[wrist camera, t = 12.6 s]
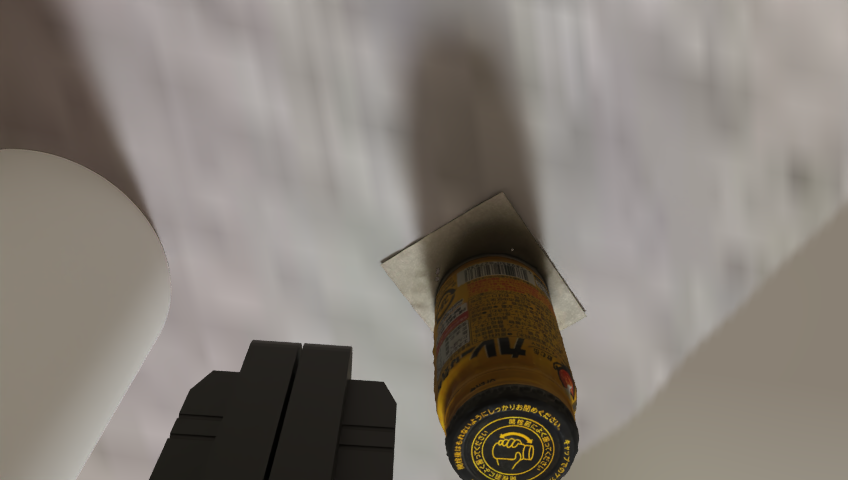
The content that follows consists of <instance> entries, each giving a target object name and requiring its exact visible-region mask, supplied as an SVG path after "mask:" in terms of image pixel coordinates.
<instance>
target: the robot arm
mask: <svg viewBox="0 0 848 480" xmlns="http://www.w3.org/2000/svg"><path fill="white" fill-rule="evenodd" d="M351 371H352V347H351V346H336V345H322V344H307V343H305V344H304V346H303V349H302V345H301V343H291V342H276V341H262V340H252V342H251V344H250V346H249V349H248V352H247V354H246V357H245V360H244V362H243V365H242V368H241V370H240V372H228V371H214V370H213V371H212V372H211V373H210V374H209V375H207V376H206V377H205V378H204V379H202V380H201V381H200V382H199V383H198V384H196V385H195V386H194V387H193V388H192V389H190V391H189V393H188V395H187V397H186V400H185V402H184V404H183V406H182V408H181V411H180V413H179V418H177V419H176V422H175V424H174V426H173V428H172V430H171V433H170V438H168V439H167V441H166V443H165V446H164V448H163V450H162V452H161V454H160V457H159V459H158V461H157V463H156V465H155V468H154V470H153V472H152V474H151V476H150V479H149V480H393V463H394V444H395V425H396V406H397V403H396V402H395V400H394V398H393V397H392V395H391V393H390V392H389V390H388V388H387V387H386V385H385V383H384V382H378V381H363V380H351Z"/></svg>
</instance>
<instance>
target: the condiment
mask: <svg viewBox="0 0 848 480" xmlns="http://www.w3.org/2000/svg"><path fill="white" fill-rule="evenodd" d="M511 249H514V251H511ZM381 266H382V267H383V269H384V270H385V271H386V273H387V274H388V276H389V277H390V278H391V279H392V281H393V282H394V283H395V284H396V285H397V287H398V288H399V290H400V291H401V293H402V294H403V295H404V296H405V297H406V298H407V300H408V301H409V302H410V304H411V305H412V307H413V308H414V309H415V311H417V313H418V314H419V315H420V317H421V318H422V319H423V320H424V322H425V323H426V324H427V325H428V326H429V328H430V329H431V330H432V332H433V333H434V348H433V355H434V362H433V363H434V367H435V371H434V375H435V377H434V393H435V401H436V411H437V414H438V418H439V421H440V424H441V426H442V428H443V430H444V432H445V435H446V438H445V445H446V451H447V456H448V457H449V461H450V463H451V465H452V467H453V469H454V470H455V471H456V473H457V474H458V475H459V477H460V478H461V479H462V480H560V479H561V478H562V477H563V476H564V475H566V473H567V472H568V471H569V469H570V467H571V465H572V463H573V461H574V458H575V456H576V454H577V452H578V442H579V433H578V428H577V426H576V422H575V411H576V405H577V388H576V386H575V382H574V380H573V376H572V371H571V369H570V366H569V362H568V358H567V355H566V351H565V348H564V344H563V339H562V337H561V333H560V331H561V330H563V329H565V328H566V327H568V326H570V325H572V324H574V323H576V322H578V321H579V320H581V319H583V318H584V317H586V314H585V313H584V311H583V310H582V308H581V307H580V305H579V304H578V302H577V301H576V299H575V298H574V296H573V295H572V293H571V292H570V290H569V289H568V287H567V286H566V285H565V283H564V282H563V280H562V278H561V277H560V276H559V274H558V272H557V271H556V270H555V268H554V267H553V265H552V264H551V262H550V261H549V259H548V258H547V257H546V255H545V253H544V252H543V251H542V249H541V248H540V246H539V245H538V244H537V242H536V241H535V239H534V237H533V236H532V234H531V233H530V231H529V230H528V228H527V227H526V225H525V224H524V222H523V221H522V220H521V218H520V217H519V215H518V214H517V212H516V211H515V210H514V208H513V207H512V205H511V204H510V202H509V201H508V199H507V198H506V196H505V195H504V193H503V192H501V193H499V194H497V195H496V196H494V197H492V198H491V199H489V200H487V201H485V202H483V203H481V204H480V205H478V206H476V207H474V208H473V209H471V210H469V211H468V212H466V213H465V214H463V215H461V216H459V217H457V218H456V219H454V220H452V221H451V222H449V223H448V224H446V225H444V226H443V227H441V228H439V229H438V230H436V231H435V232H432V233H431V234H428V235H427V236H426V237H425V238H423V239H422V240H420V241H419V242H417V243H415V244H414V245H412V246H410V247H408V248H407V249H405V250H403V251H402V252H400V253H399V254H397V255H396V256H394V257H393V258H391V259H389V260H388V261H386V262H384V263H383V264H381ZM438 268H439V274H438V275H437V274H436V269H438ZM436 277H439V280H438V281H436V280H435V279H436Z"/></svg>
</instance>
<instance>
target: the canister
mask: <svg viewBox="0 0 848 480" xmlns="http://www.w3.org/2000/svg"><path fill="white" fill-rule="evenodd" d="M170 301H171V278H170V271H169V266H168V262H167V258H166V255H165V252H164V250H163V247H162V245H161V243H160V240H159V238H158V236H157V234H156V233H155V231H154V229H153V227H152V226H151V224H150V223H149V221H148V220H147V218H146V217H145V216H144V214H143V213H142V212H141V211H140V209H139V208H138V207H137V206H136V205H135V204H134V203H133V202H132V201H131V200H130V199H129V198H128V197H127V196H126V195H125V194H124V193H123V192H122V191H121V190H119V189H118V188H117V187H116V186H115V185H113V184H112V183H111V182H109V181H108V180H106V179H105V178H103V177H102V176H100V175H99V174H97V173H95V172H94V171H92V170H90V169H88V168H86V167H84V166H82V165H80V164H78V163H75V162H73V161H71V160H68V159H65V158H62V157H59V156H56V155H52V154H48V153H44V152H39V151H33V150H24V149H0V480H76V479H77V477H78V475H79V473H80V472H81V470H82V468H83V467H84V465H85V463H86V461H87V460H88V458H89V456H90V454H91V453H92V451H93V449H94V447H95V446H96V444H97V442H98V441H99V439H100V437H101V435H102V434H103V432H104V430H105V428H106V427H107V425H108V423H109V421H110V420H111V418H112V416H113V415H114V413H115V411H116V409H117V408H118V406H119V404H120V402H121V401H122V399H123V397H124V395H125V394H126V392H127V390H128V389H129V387H130V385H131V383H132V382H133V380H134V378H135V376H136V375H137V373H138V371H139V369H140V368H141V366H142V364H143V362H144V361H145V359H146V357H147V356H148V354H149V352H150V350H151V349H152V347H153V345H154V343H155V342H156V340H157V338H158V336H159V335H160V333H161V331H162V329H163V327H164V324H165V322H166V319H167V316H168V312H169V307H170Z"/></svg>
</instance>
